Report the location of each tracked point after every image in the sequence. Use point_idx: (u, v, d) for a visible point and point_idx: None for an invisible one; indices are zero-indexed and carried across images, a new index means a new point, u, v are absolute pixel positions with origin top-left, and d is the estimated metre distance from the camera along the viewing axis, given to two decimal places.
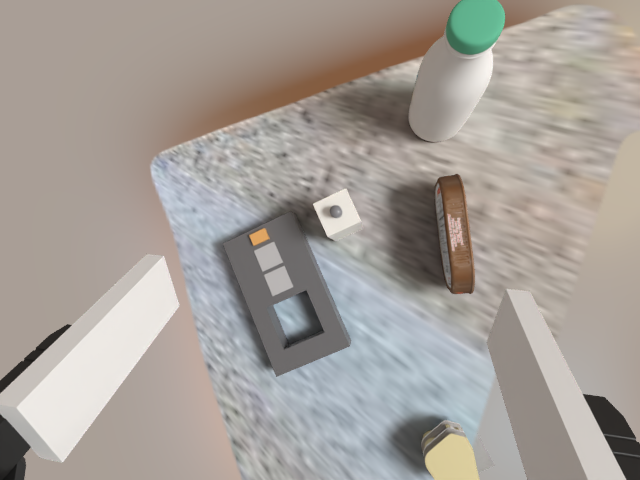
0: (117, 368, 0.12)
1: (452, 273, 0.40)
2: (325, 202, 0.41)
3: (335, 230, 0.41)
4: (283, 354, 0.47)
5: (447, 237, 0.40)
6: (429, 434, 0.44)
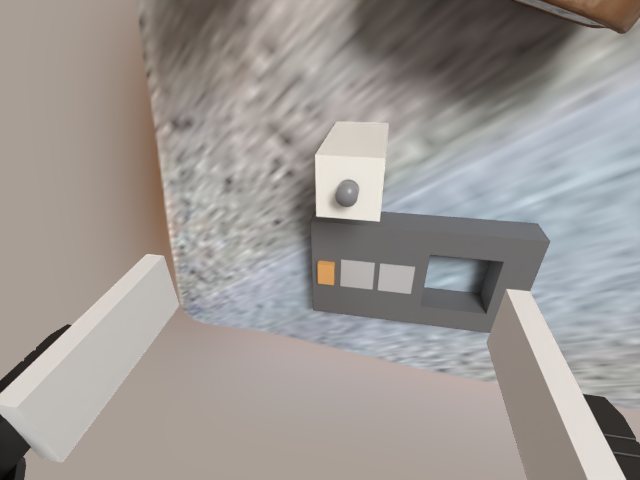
0: (117, 368, 0.12)
1: (603, 19, 0.17)
2: (323, 197, 0.23)
3: (375, 205, 0.23)
4: (491, 316, 0.33)
5: None
6: None
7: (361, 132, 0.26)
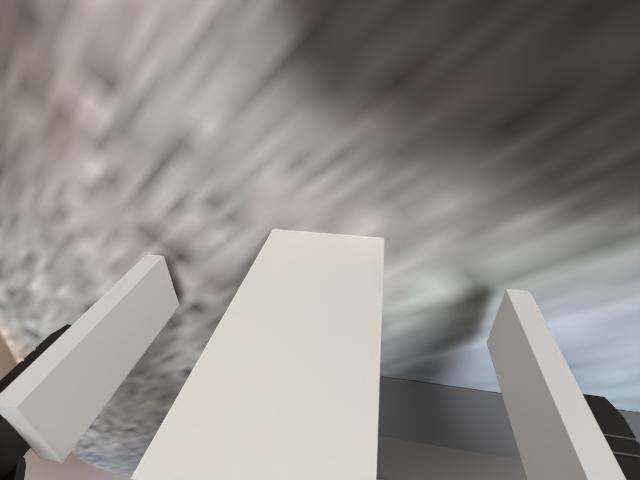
0: (117, 368, 0.12)
1: None
2: None
3: None
4: None
5: None
6: None
7: (317, 287, 0.11)
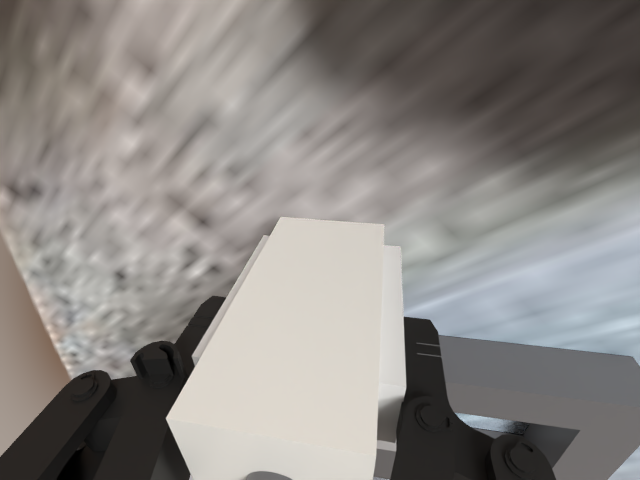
0: None
1: None
2: None
3: None
4: None
5: None
6: None
7: (323, 266, 0.12)
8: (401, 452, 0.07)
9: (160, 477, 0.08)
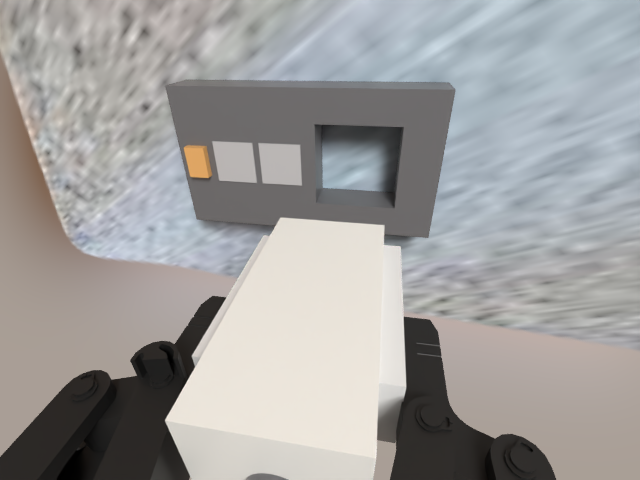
0: None
1: None
2: None
3: None
4: (401, 212, 0.27)
5: None
6: None
7: (323, 267, 0.12)
8: (401, 452, 0.07)
9: (160, 477, 0.08)
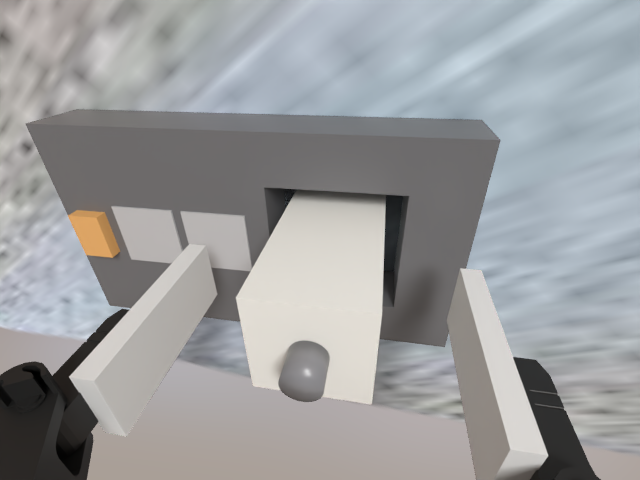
0: (169, 351, 0.12)
1: None
2: (262, 362, 0.12)
3: (363, 382, 0.12)
4: (404, 312, 0.17)
5: None
6: None
7: (338, 214, 0.15)
8: None
9: None
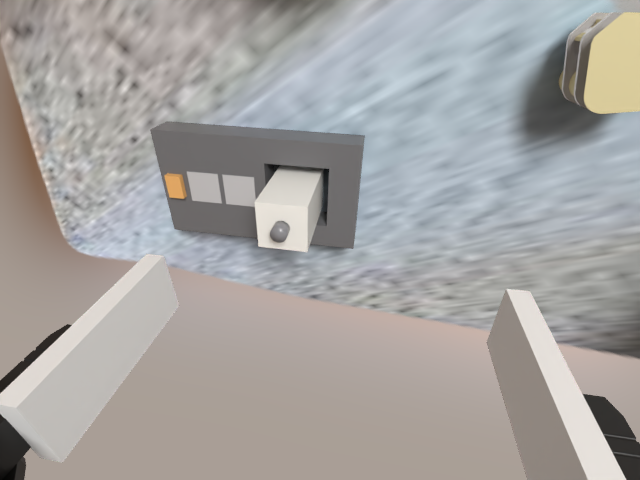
0: (117, 368, 0.12)
1: None
2: (263, 233, 0.29)
3: (303, 240, 0.29)
4: (331, 229, 0.35)
5: None
6: (565, 76, 0.26)
7: (298, 176, 0.32)
8: None
9: None
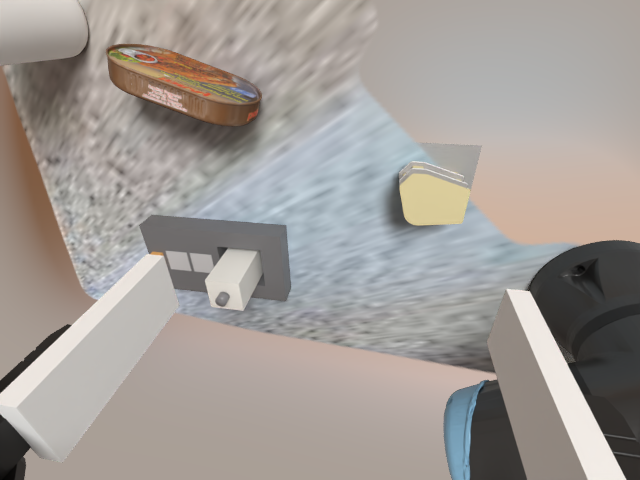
0: (117, 368, 0.12)
1: (214, 123, 0.32)
2: (213, 298, 0.43)
3: (239, 303, 0.43)
4: (268, 288, 0.49)
5: None
6: None
7: (240, 255, 0.46)
8: None
9: None
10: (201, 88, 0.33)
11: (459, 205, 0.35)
